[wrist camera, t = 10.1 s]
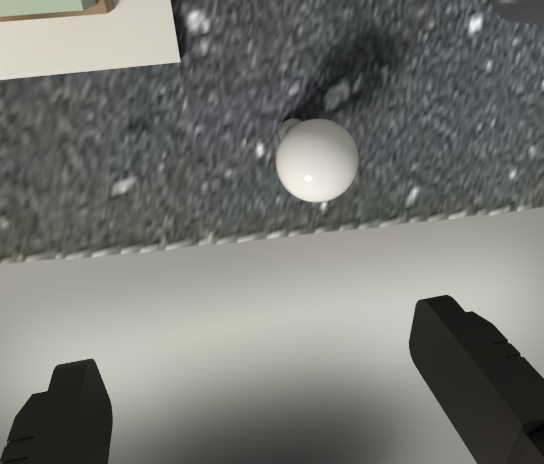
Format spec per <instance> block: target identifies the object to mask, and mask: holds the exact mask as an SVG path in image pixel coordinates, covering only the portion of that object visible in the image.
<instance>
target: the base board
mask: <svg viewBox="0 0 544 464" xmlns="http://www.w3.org/2000/svg"><path fill="white" fill-rule="evenodd" d="M113 3H114V7H115V9H114V10H112V11H110V12H109V13H107V14H96V15H83V16H70V17H58V18H45V19H32V20H20V21H7V22H0V80H4V79H14V78H24V77H34V76H44V75H55V74H65V73H75V72H85V71H95V70H105V69H115V68H125V67H135V66H145V65H155V64H165V63H175V62H180V56H179V50H178V44H177V37H176V31H175V25H174V19H173V13H172V7H171V1H170V0H113Z"/></svg>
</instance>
